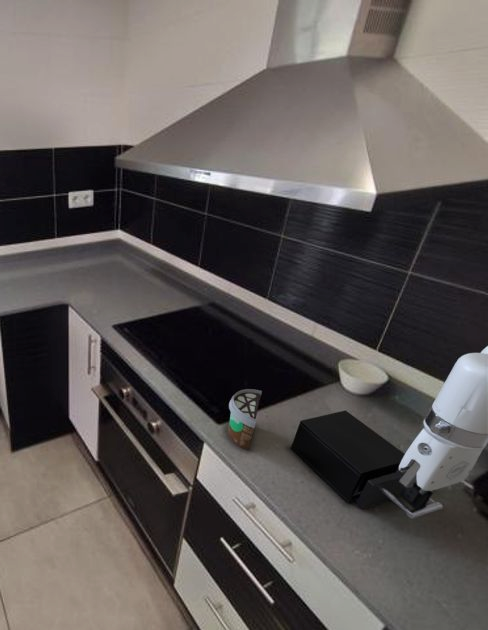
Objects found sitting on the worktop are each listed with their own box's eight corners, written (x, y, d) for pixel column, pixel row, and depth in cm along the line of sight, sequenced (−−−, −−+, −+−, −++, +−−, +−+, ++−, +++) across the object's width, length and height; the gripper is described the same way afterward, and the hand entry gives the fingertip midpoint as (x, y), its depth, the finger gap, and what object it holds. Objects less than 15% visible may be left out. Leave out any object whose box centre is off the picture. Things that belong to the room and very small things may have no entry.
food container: (227, 413, 99) (235, 382, 94) (253, 421, 96) (262, 389, 91) (218, 444, 89) (226, 411, 84) (246, 454, 86) (256, 421, 82)
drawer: (439, 523, 70) (456, 499, 67) (392, 539, 68) (407, 515, 65) (345, 446, 87) (355, 423, 84) (304, 456, 85) (313, 433, 82)
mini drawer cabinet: (394, 488, 78) (412, 459, 74) (346, 503, 75) (361, 473, 71) (333, 437, 91) (345, 410, 87) (290, 448, 88) (300, 420, 84)
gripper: (449, 452, 56) (400, 530, 65) (519, 433, 60) (464, 510, 68) (398, 418, 63) (359, 493, 71) (464, 403, 66) (420, 476, 74)
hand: (411, 501), depth 69 cm, fingers closed
